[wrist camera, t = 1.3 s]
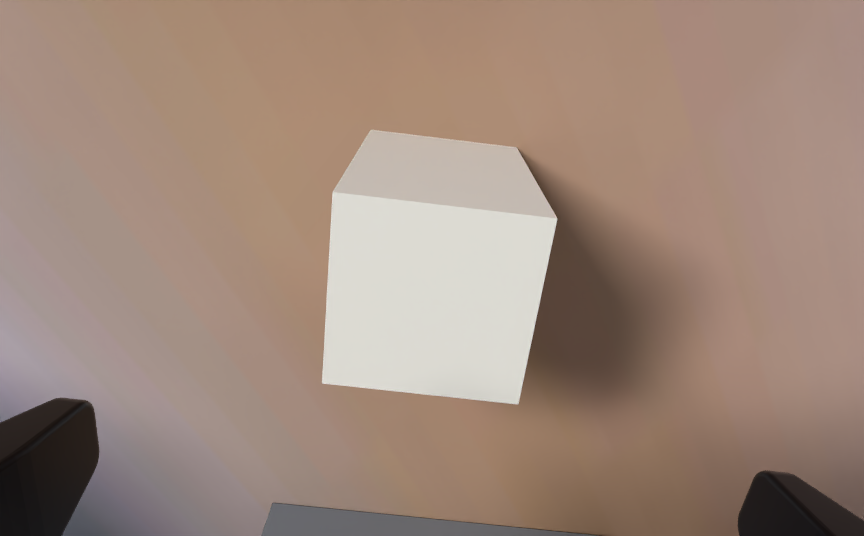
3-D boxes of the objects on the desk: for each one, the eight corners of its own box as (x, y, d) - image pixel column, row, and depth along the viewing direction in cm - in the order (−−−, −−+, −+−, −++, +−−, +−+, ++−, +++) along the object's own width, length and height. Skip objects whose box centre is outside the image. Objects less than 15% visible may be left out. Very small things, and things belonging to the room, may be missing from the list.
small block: (360, 264, 20) (322, 383, 14) (371, 129, 18) (332, 191, 12) (493, 279, 20) (518, 404, 14) (516, 147, 18) (557, 218, 12)
